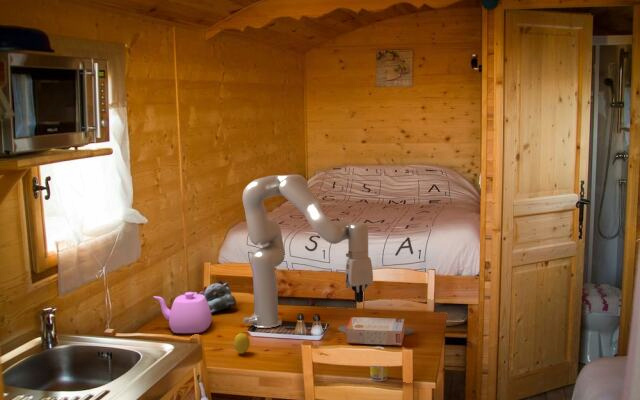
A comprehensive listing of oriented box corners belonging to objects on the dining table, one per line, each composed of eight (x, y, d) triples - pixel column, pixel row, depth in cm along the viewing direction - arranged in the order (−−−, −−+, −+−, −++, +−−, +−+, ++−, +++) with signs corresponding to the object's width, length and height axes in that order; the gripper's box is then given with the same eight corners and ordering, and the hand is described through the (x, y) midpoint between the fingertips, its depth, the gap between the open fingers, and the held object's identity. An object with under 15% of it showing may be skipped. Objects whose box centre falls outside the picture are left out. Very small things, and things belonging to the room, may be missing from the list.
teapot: (216, 319, 292) (214, 284, 289) (208, 336, 271) (206, 298, 269) (162, 320, 292) (160, 285, 290) (149, 337, 271) (147, 299, 269)
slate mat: (364, 343, 258) (364, 342, 258) (337, 328, 276) (337, 327, 276) (414, 333, 269) (414, 331, 269) (386, 319, 286) (386, 317, 286)
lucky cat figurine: (201, 316, 295) (193, 285, 299) (207, 318, 307) (199, 289, 311) (235, 305, 296) (226, 274, 299) (239, 308, 307) (231, 278, 311)
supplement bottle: (384, 374, 229) (384, 344, 228) (389, 381, 224) (389, 350, 222) (368, 376, 228) (368, 346, 227) (372, 382, 223) (372, 352, 221)
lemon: (234, 351, 253) (233, 330, 252) (250, 350, 254) (249, 329, 252) (234, 357, 248) (233, 335, 247) (249, 356, 248) (249, 334, 247)
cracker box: (345, 344, 258) (402, 346, 253) (345, 328, 257) (402, 330, 253) (351, 331, 271) (405, 333, 267) (351, 316, 270) (405, 318, 266)
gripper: (346, 259, 258) (347, 307, 260) (380, 254, 265) (380, 301, 267) (336, 255, 264) (337, 302, 267) (369, 250, 271) (370, 296, 274)
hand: (359, 301), depth 267 cm, fingers closed
